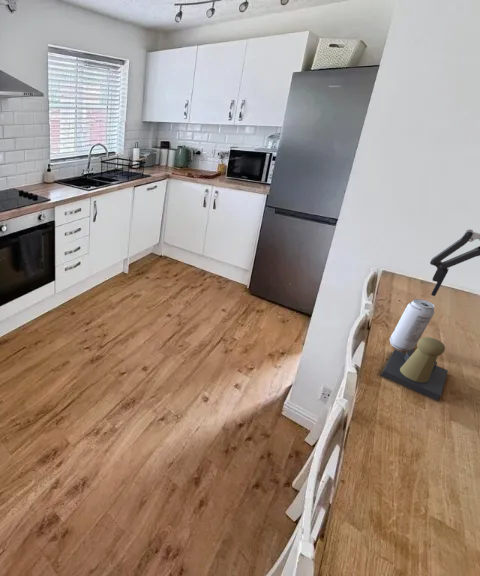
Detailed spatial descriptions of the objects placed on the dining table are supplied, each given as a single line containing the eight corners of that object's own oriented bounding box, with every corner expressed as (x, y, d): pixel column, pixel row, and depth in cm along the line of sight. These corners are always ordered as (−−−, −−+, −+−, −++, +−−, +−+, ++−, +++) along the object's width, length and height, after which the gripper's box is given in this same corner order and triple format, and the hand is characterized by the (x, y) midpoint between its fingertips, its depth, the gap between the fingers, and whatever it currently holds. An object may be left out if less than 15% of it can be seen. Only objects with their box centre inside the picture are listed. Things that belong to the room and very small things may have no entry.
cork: (402, 363, 100) (421, 330, 95) (430, 375, 96) (451, 341, 91) (397, 373, 97) (416, 339, 91) (425, 386, 93) (447, 351, 87)
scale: (392, 352, 107) (397, 342, 106) (445, 373, 100) (451, 363, 98) (380, 375, 98) (386, 365, 96) (437, 400, 91) (444, 390, 89)
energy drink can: (402, 340, 113) (425, 298, 106) (417, 352, 108) (443, 309, 100) (383, 339, 113) (405, 297, 105) (398, 352, 107) (422, 308, 100)
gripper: (613, 227, 71) (547, 319, 81) (446, 200, 86) (407, 281, 96) (621, 236, 66) (549, 333, 76) (442, 206, 81) (402, 290, 91)
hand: (470, 304), depth 86 cm, fingers open, 13 cm apart
